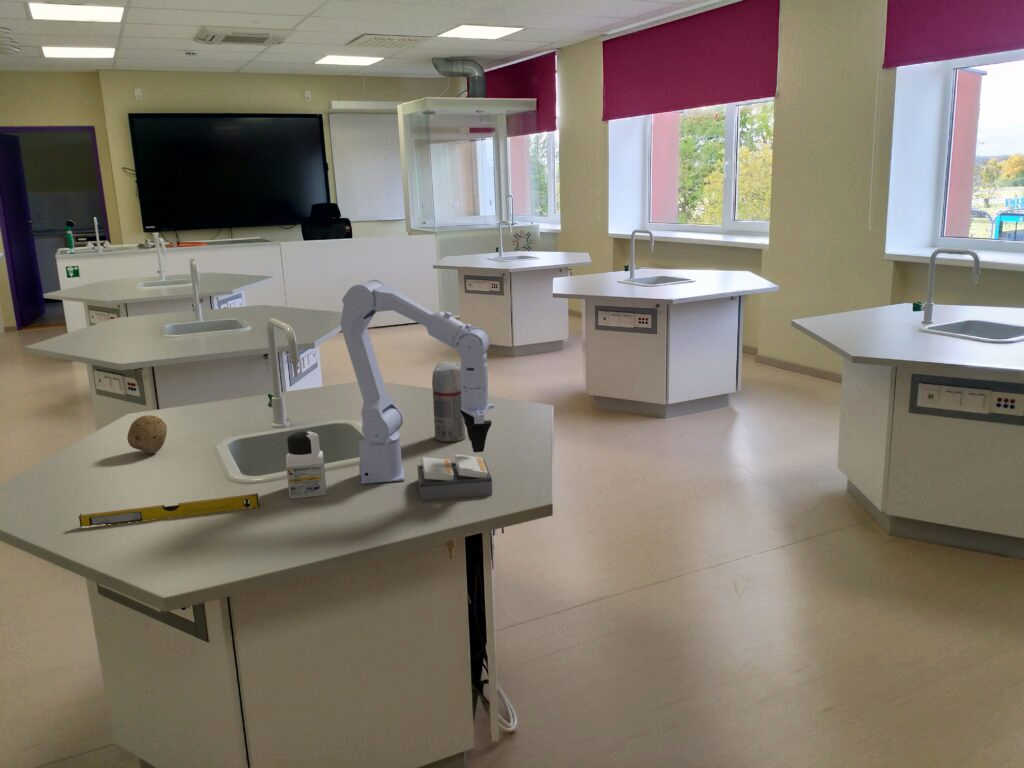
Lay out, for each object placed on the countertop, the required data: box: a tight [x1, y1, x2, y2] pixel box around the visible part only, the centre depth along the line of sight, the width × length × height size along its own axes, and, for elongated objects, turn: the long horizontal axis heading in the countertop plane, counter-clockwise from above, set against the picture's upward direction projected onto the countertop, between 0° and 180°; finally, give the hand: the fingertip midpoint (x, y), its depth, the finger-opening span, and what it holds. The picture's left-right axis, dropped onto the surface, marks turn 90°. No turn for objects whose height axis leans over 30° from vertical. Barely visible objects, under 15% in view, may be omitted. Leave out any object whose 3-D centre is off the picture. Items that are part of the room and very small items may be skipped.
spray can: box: [431, 361, 467, 443], centre depth 203 cm, size 8×8×20 cm
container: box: [285, 430, 328, 500], centre depth 171 cm, size 8×8×13 cm
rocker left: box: [421, 456, 454, 481], centre depth 171 cm, size 6×10×2 cm, turn 10°
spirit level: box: [78, 492, 260, 528], centre depth 160 cm, size 33×1×3 cm, turn 106°
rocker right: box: [454, 453, 488, 478], centre depth 172 cm, size 6×10×2 cm, turn 10°
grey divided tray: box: [416, 459, 493, 502], centre depth 172 cm, size 15×12×4 cm
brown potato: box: [126, 414, 168, 455], centre depth 197 cm, size 9×9×10 cm
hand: (476, 445), depth 173 cm, fingers open, 7 cm apart
